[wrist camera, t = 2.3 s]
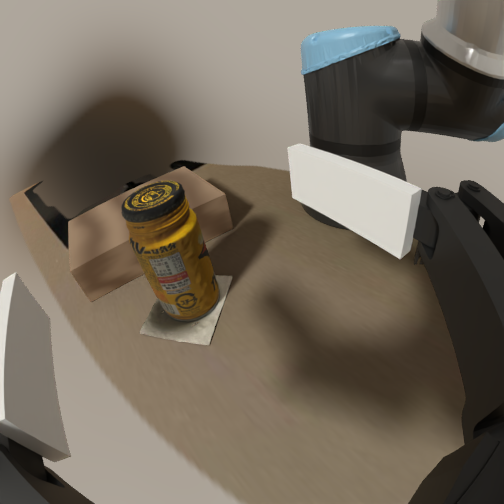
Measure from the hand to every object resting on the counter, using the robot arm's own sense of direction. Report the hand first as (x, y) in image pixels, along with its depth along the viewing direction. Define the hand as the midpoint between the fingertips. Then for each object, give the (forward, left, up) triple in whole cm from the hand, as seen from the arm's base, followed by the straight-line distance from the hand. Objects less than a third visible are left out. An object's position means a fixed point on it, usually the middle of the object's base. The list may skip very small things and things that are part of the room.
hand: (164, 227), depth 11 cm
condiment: (-1, -10, -15) cm, 18 cm away
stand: (-1, -25, -15) cm, 29 cm away
